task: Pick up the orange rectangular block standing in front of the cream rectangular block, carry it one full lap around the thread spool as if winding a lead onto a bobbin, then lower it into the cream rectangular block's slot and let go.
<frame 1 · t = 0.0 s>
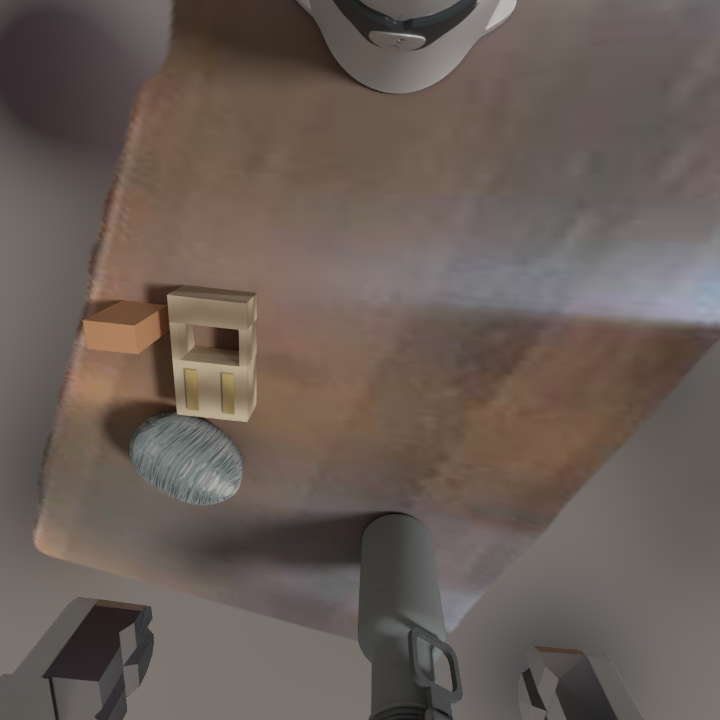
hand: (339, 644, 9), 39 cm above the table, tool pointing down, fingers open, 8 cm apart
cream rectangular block: (222, 348, 49), on the table
orange rectangular block: (146, 315, 48), on the table
spool: (202, 437, 54), on the table
water bottle: (397, 535, 60), on the table
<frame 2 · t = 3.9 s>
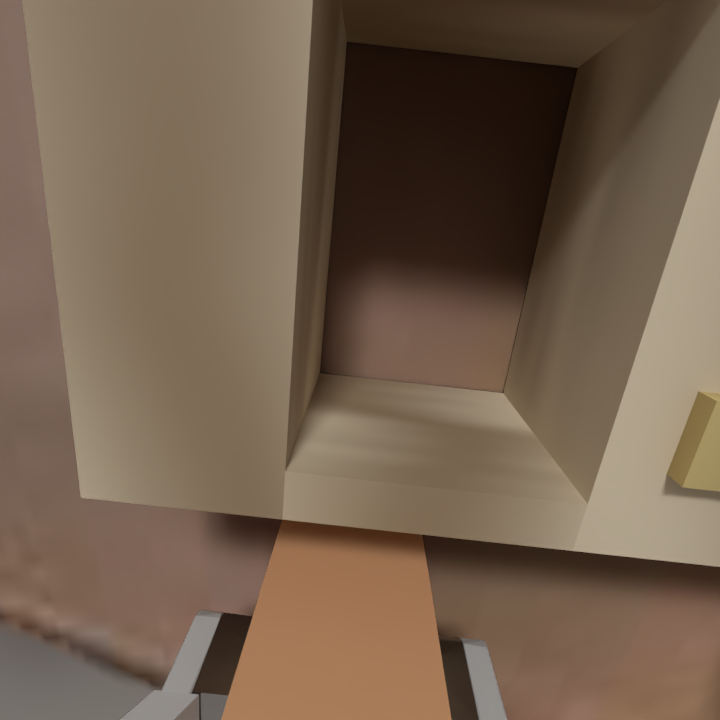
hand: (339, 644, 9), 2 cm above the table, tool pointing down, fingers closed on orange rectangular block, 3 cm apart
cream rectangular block: (531, 248, 9), on the table
orange rectangular block: (345, 563, 11), on the table, touching gripper
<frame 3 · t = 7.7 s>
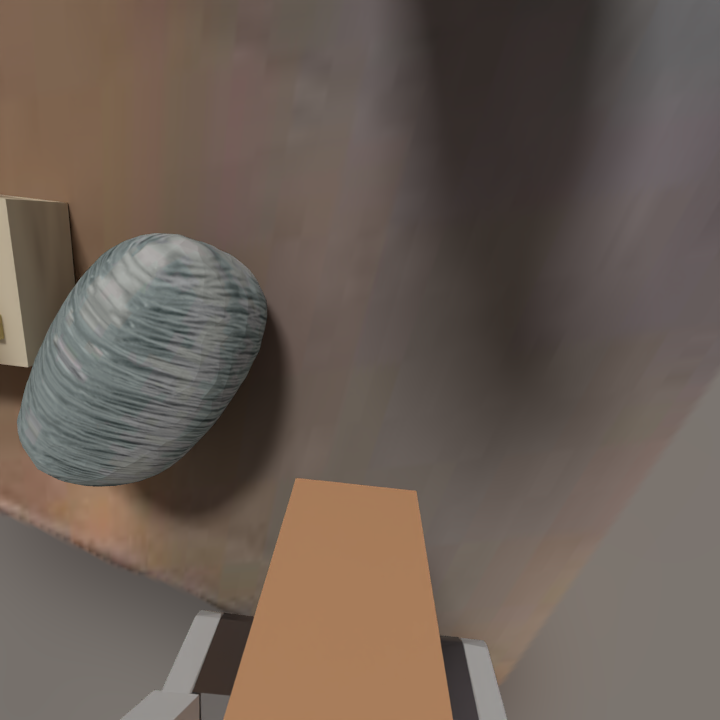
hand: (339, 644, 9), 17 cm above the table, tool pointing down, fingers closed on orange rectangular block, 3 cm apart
orange rectangular block: (346, 564, 11), point 15 cm above the table, touching gripper
spool: (183, 340, 25), on the table
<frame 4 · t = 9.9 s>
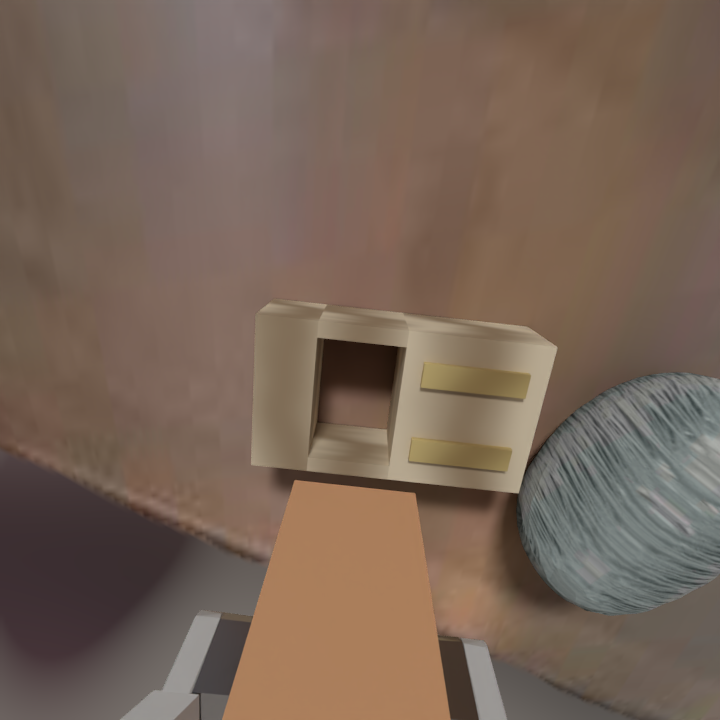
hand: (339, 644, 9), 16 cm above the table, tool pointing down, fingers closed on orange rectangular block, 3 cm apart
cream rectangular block: (391, 380, 25), on the table
orange rectangular block: (345, 566, 11), point 14 cm above the table, touching gripper
spool: (595, 446, 26), on the table
when the fingers open (5 cm above the table, at t = 11.6 s): orange rectangular block drops 2 cm, resting in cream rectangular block.
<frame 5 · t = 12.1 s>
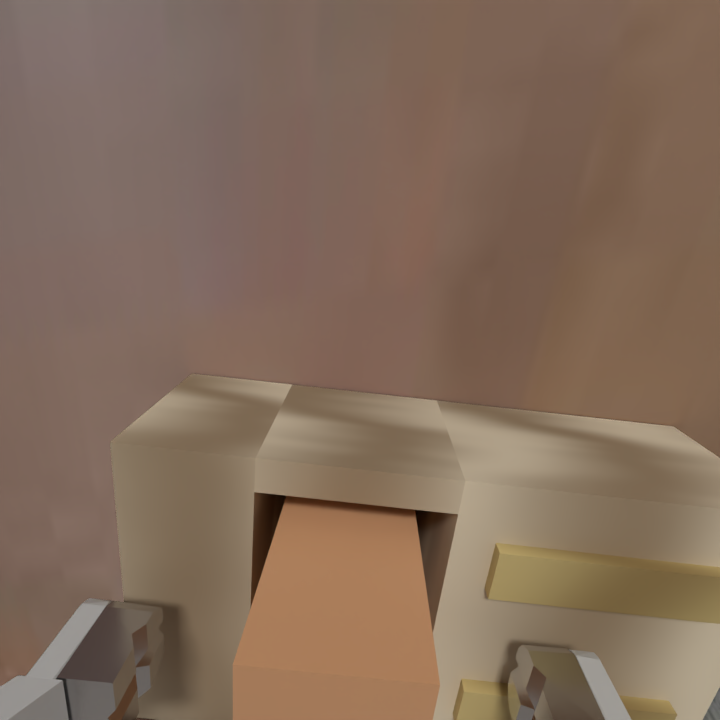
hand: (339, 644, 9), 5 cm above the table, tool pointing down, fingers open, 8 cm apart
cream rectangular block: (413, 515, 13), on the table
orange rectangular block: (348, 507, 14), resting in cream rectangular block
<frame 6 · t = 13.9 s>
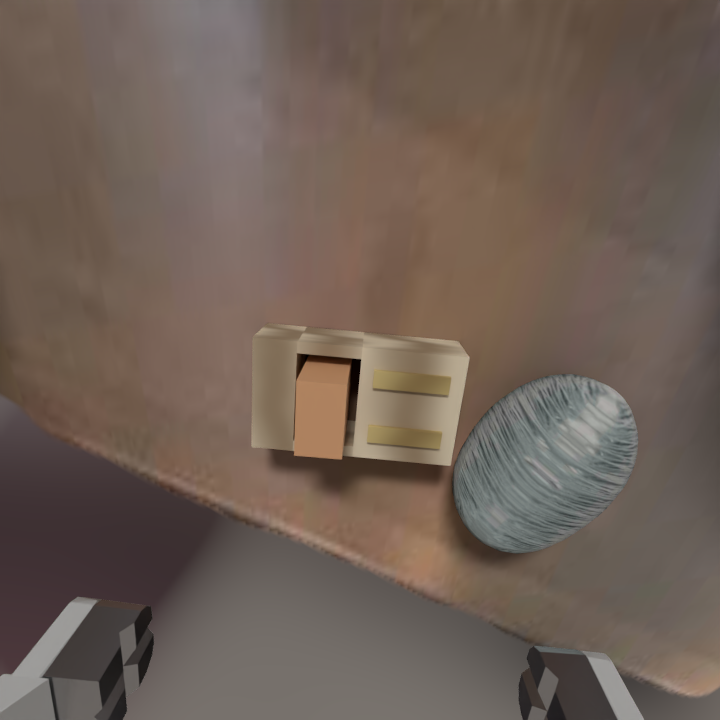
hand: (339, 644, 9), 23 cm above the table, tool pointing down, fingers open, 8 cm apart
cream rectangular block: (357, 382, 32), on the table
orange rectangular block: (331, 380, 32), resting in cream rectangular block
spool: (518, 432, 33), on the table
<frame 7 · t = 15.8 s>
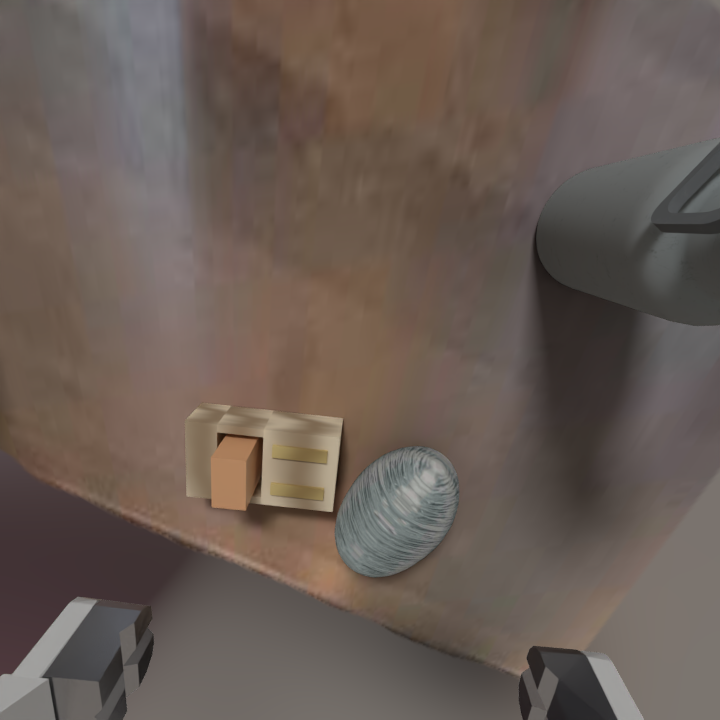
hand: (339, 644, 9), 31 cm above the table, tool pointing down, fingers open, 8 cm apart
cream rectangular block: (270, 446, 43), on the table
orange rectangular block: (250, 443, 43), resting in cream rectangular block
spool: (394, 483, 44), on the table
water bottle: (588, 229, 36), on the table
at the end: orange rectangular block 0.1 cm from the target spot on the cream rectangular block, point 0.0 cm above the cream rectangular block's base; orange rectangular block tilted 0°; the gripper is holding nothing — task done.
